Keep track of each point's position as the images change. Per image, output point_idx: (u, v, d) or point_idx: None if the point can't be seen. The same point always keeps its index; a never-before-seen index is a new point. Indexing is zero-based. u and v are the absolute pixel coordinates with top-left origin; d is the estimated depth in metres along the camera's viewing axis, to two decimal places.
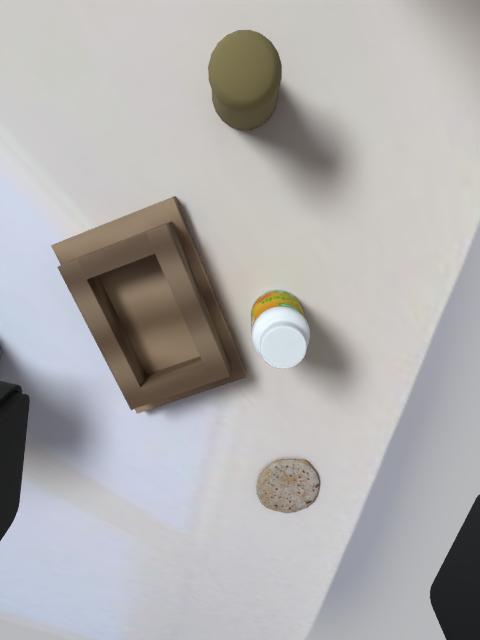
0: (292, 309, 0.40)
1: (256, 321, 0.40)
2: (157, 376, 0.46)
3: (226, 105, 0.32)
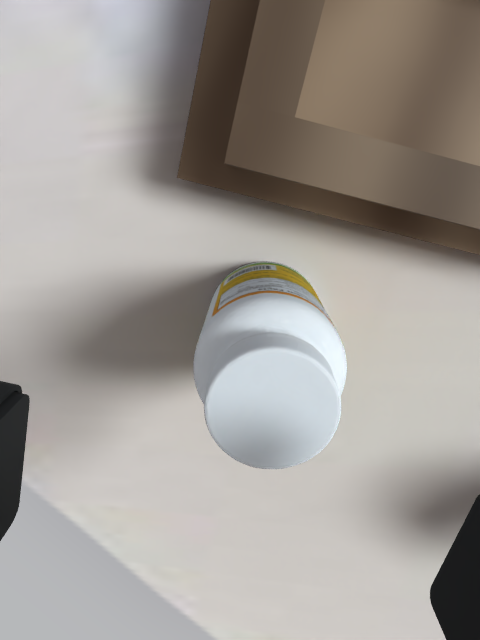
0: None
1: (340, 341, 0.15)
2: None
3: None
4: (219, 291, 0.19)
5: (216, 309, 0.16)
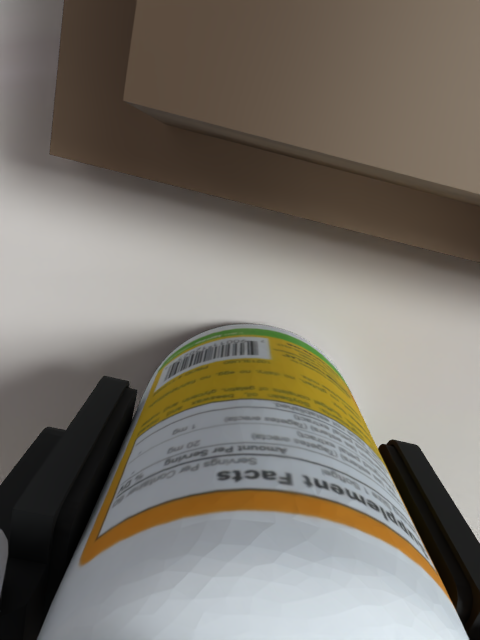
0: None
1: None
2: None
3: None
4: (144, 407, 0.08)
5: (99, 526, 0.05)
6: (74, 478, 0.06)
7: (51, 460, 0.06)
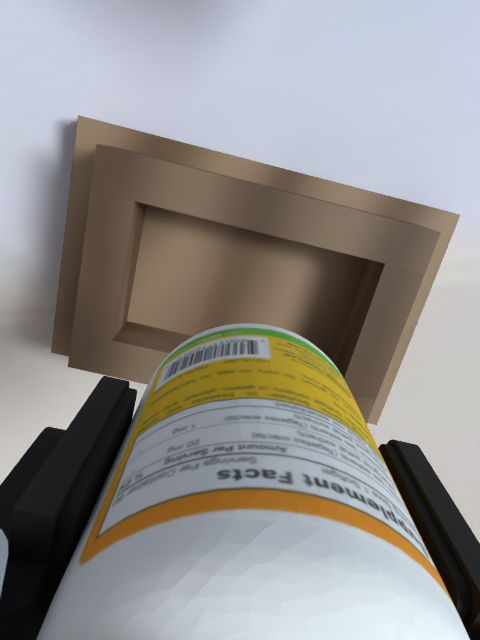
0: None
1: None
2: (135, 231, 0.22)
3: None
4: (143, 406, 0.08)
5: (99, 525, 0.05)
6: (74, 478, 0.06)
7: (51, 460, 0.06)
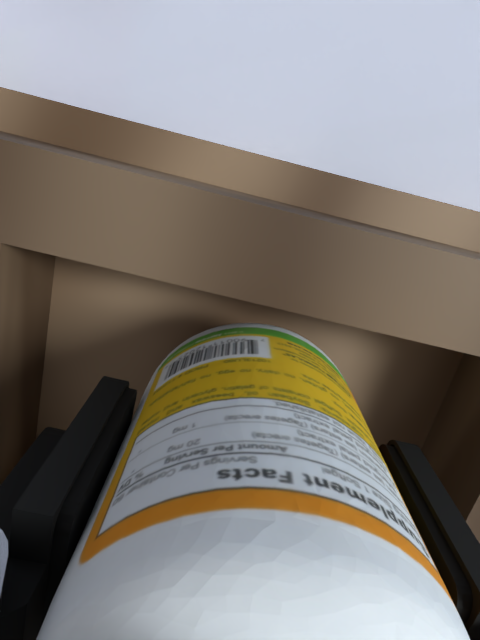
0: None
1: None
2: (26, 296, 0.11)
3: None
4: (143, 406, 0.08)
5: (99, 525, 0.05)
6: (73, 478, 0.06)
7: (51, 460, 0.06)
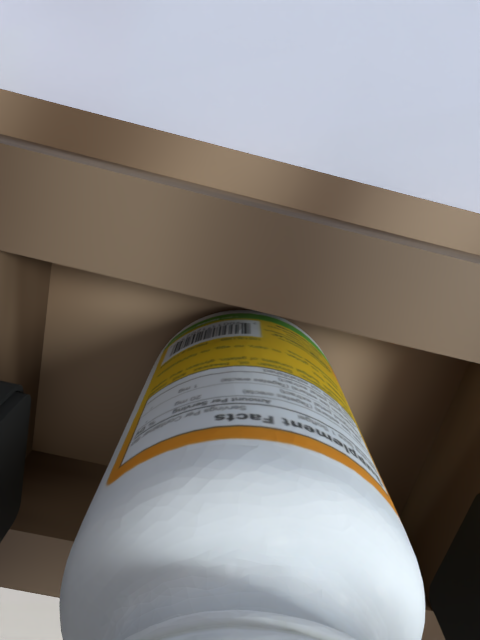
0: None
1: None
2: (21, 303, 0.11)
3: None
4: (152, 377, 0.10)
5: (121, 459, 0.07)
6: None
7: None
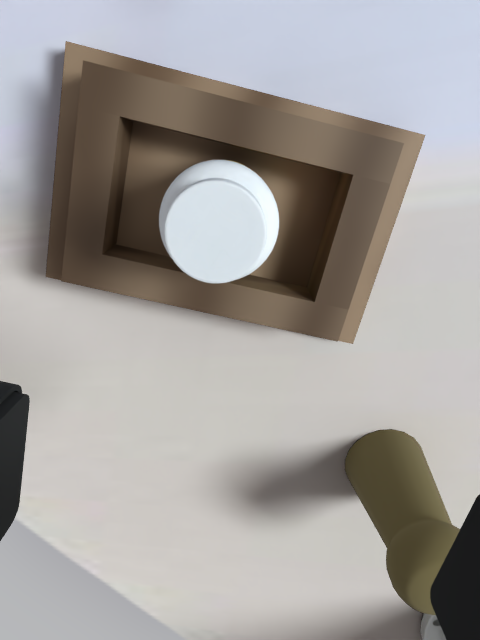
0: None
1: (273, 198, 0.19)
2: (122, 150, 0.23)
3: (424, 543, 0.24)
4: None
5: None
6: None
7: None
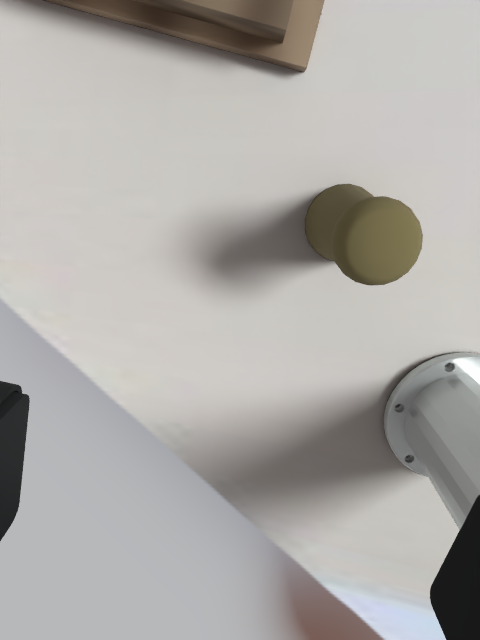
0: None
1: None
2: None
3: (363, 202, 0.25)
4: None
5: None
6: None
7: None
